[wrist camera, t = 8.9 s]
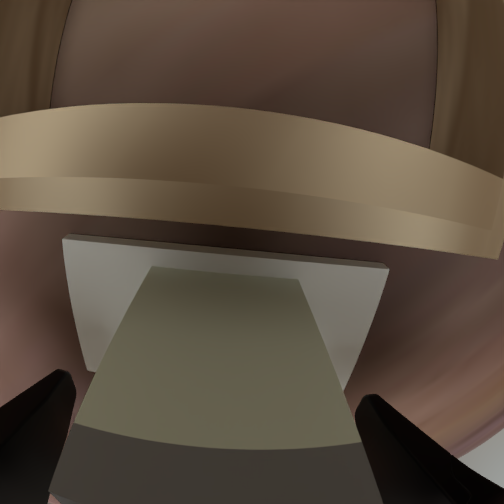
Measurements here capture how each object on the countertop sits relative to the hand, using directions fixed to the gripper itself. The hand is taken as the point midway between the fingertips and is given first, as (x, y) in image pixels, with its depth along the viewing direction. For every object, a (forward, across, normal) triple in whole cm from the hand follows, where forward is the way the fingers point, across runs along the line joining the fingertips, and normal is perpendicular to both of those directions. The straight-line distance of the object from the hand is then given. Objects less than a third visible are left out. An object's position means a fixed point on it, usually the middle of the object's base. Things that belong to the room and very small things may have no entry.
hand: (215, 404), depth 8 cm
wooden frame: (+4, 0, -12) cm, 13 cm away
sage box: (+4, 0, 0) cm, 4 cm away
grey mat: (+4, 0, 0) cm, 4 cm away
